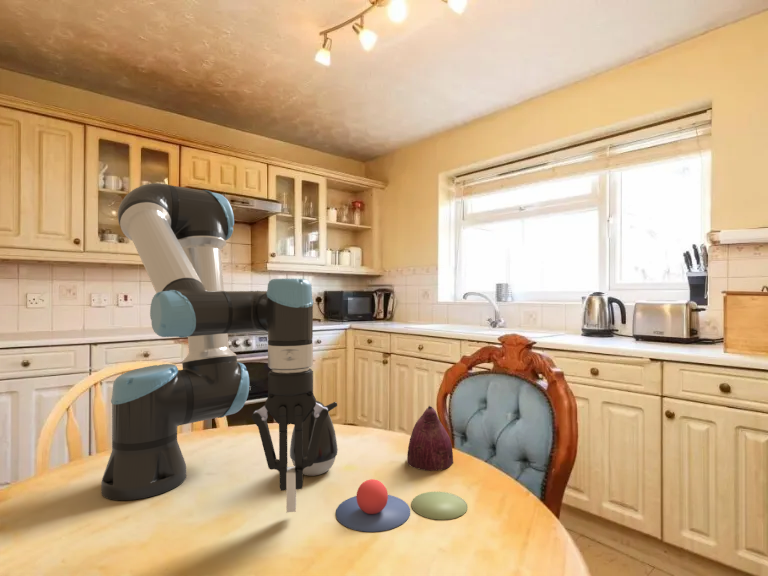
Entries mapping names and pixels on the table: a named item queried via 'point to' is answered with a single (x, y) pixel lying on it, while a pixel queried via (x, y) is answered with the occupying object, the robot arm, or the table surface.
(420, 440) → the vegetable
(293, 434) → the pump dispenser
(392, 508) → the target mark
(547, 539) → the table surface
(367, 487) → the ball
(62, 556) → the table surface
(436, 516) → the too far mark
